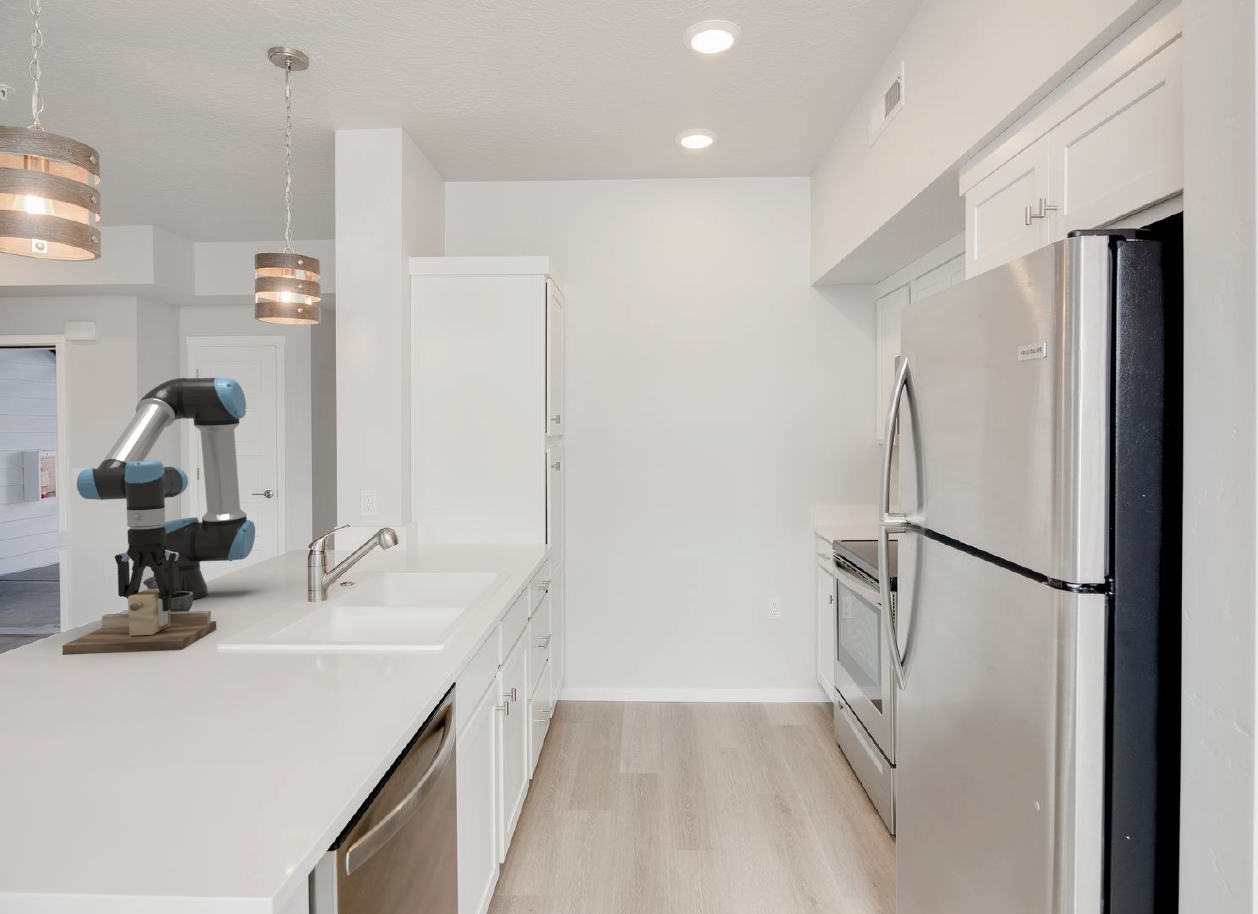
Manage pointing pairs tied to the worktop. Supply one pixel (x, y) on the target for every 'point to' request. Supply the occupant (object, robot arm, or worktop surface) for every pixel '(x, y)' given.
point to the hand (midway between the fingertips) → (150, 625)
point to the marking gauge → (145, 613)
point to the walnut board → (118, 639)
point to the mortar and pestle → (174, 597)
